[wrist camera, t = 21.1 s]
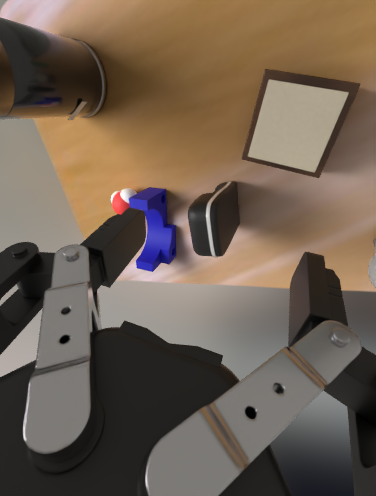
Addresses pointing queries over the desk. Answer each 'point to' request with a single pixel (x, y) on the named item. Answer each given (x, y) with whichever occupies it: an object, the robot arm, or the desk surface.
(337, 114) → the cream block
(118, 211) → the molecule
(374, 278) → the lightbulb
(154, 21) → the desk surface
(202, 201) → the battery charger
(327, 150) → the walnut base
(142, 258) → the cable clip
